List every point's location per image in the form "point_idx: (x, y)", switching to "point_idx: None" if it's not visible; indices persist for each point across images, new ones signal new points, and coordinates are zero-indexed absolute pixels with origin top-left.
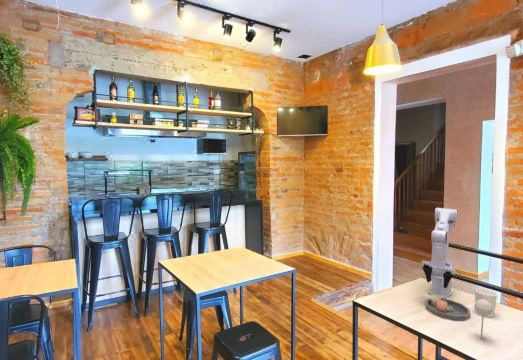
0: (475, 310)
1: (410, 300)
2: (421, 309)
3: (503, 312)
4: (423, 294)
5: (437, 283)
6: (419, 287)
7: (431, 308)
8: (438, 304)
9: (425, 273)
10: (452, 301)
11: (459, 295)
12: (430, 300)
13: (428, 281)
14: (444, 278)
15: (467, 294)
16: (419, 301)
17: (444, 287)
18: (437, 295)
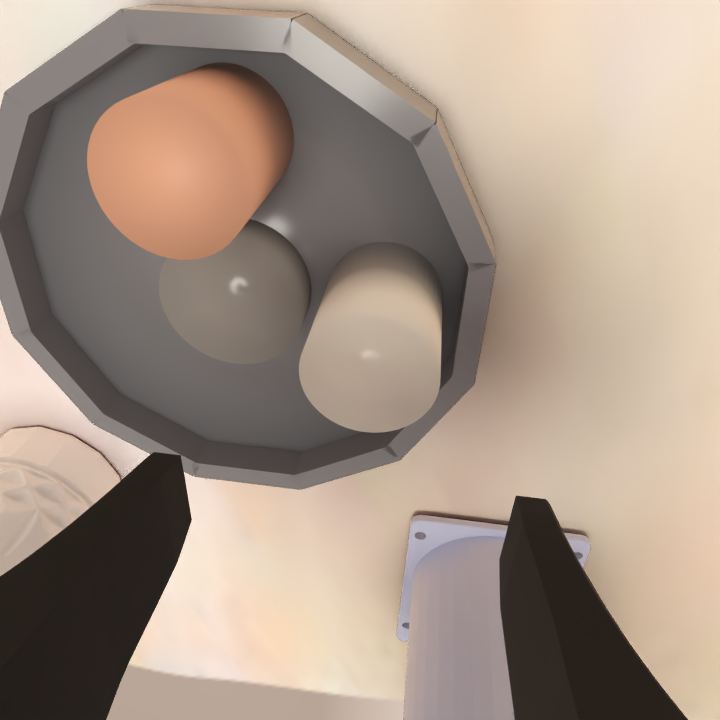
0: (114, 475)
1: (713, 191)
2: (474, 16)
3: None
4: (616, 478)
5: (497, 663)
6: (705, 595)
7: (316, 43)
8: (191, 89)
9: (639, 684)
10: (281, 472)
11: (357, 644)
12: (459, 325)
13: (516, 513)
14: (11, 626)
15: (328, 685)
16: (593, 265)
17: (160, 459)
18: (343, 364)
